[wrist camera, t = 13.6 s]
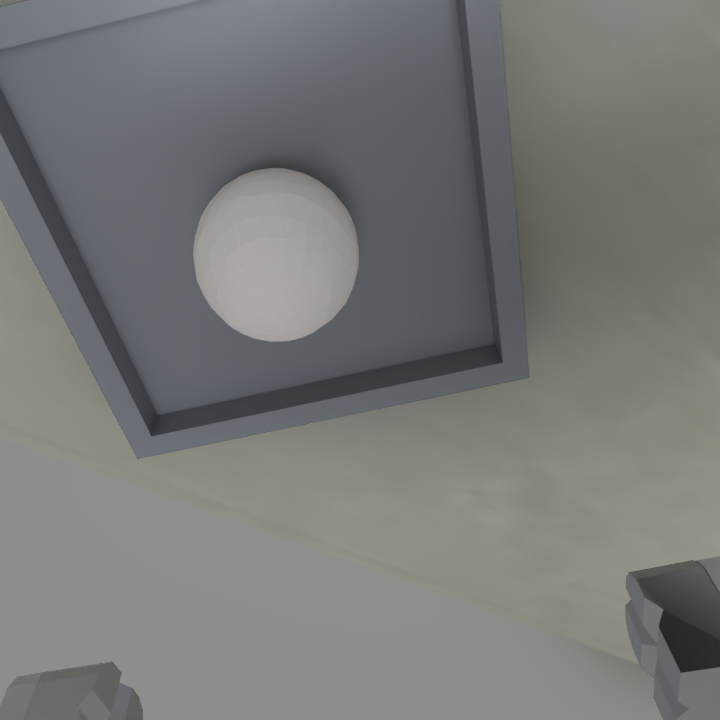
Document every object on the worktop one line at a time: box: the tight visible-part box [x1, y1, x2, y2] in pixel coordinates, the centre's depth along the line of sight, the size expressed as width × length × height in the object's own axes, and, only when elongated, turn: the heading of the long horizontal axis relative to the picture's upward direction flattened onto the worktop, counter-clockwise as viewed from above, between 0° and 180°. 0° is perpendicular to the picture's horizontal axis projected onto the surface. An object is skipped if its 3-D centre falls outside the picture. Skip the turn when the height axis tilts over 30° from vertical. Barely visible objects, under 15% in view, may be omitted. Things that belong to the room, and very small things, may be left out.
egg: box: [193, 168, 359, 342], centre depth 26 cm, size 6×6×8 cm
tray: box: [0, 0, 529, 459], centre depth 28 cm, size 20×20×2 cm
